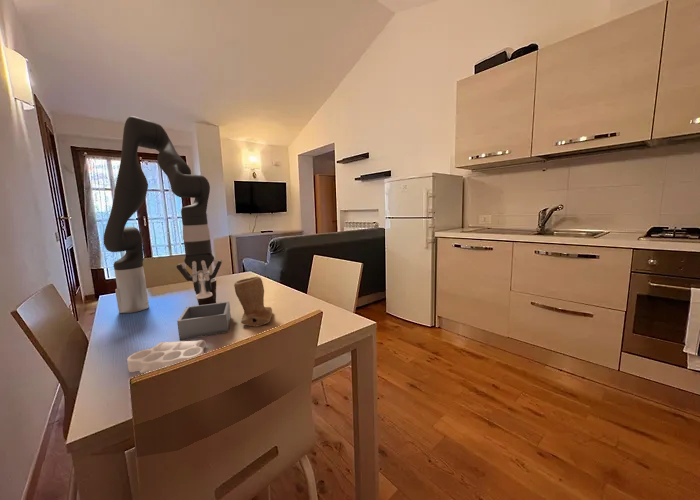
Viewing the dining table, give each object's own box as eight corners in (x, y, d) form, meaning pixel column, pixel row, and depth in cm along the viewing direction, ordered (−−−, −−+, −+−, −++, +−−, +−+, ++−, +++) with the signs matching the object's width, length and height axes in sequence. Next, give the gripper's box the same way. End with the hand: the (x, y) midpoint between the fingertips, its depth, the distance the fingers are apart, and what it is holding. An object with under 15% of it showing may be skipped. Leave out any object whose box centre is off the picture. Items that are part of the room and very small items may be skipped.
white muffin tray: (217, 347, 84) (192, 376, 69) (153, 350, 83) (114, 381, 69) (216, 336, 83) (190, 363, 69) (151, 339, 83) (112, 368, 68)
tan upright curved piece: (241, 313, 109) (237, 274, 106) (274, 310, 111) (270, 272, 108) (232, 330, 94) (227, 285, 92) (270, 326, 96) (266, 282, 94)
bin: (179, 340, 88) (177, 321, 87) (188, 323, 101) (186, 306, 100) (227, 332, 92) (226, 314, 92) (230, 317, 105) (229, 301, 104)
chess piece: (215, 294, 96) (211, 265, 95) (203, 299, 92) (198, 268, 90) (205, 293, 98) (201, 264, 97) (192, 298, 94) (187, 267, 93)
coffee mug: (212, 308, 116) (210, 283, 115) (191, 308, 117) (188, 284, 115) (225, 298, 128) (223, 276, 126) (206, 299, 128) (203, 277, 127)
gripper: (221, 236, 98) (227, 286, 101) (175, 239, 94) (182, 291, 96) (219, 238, 91) (225, 292, 94) (169, 242, 87) (176, 298, 89)
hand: (203, 291), depth 95 cm, fingers closed on chess piece
